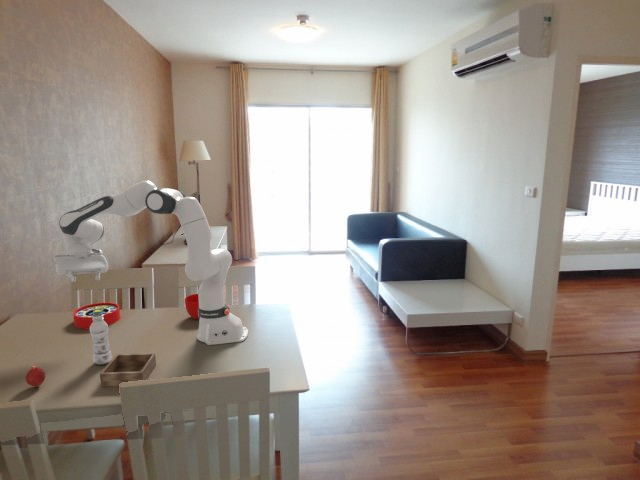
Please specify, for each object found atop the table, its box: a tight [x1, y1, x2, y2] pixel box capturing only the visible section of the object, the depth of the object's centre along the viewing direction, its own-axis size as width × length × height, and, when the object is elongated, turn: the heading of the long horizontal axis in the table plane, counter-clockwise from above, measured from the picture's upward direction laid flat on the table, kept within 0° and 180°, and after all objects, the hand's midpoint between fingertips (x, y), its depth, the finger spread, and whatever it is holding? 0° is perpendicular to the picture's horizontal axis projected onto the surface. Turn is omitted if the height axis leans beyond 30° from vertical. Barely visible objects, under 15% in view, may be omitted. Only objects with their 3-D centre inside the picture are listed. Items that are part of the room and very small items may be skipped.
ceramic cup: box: [184, 293, 199, 320], centre depth 213 cm, size 13×17×10 cm
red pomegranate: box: [24, 365, 46, 388], centre depth 149 cm, size 6×6×8 cm
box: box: [99, 352, 157, 387], centre depth 157 cm, size 15×15×5 cm
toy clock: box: [72, 302, 121, 330], centre depth 207 cm, size 20×6×20 cm
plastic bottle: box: [89, 313, 113, 366], centre depth 164 cm, size 6×7×20 cm
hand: (86, 280), depth 180 cm, fingers open, 8 cm apart
